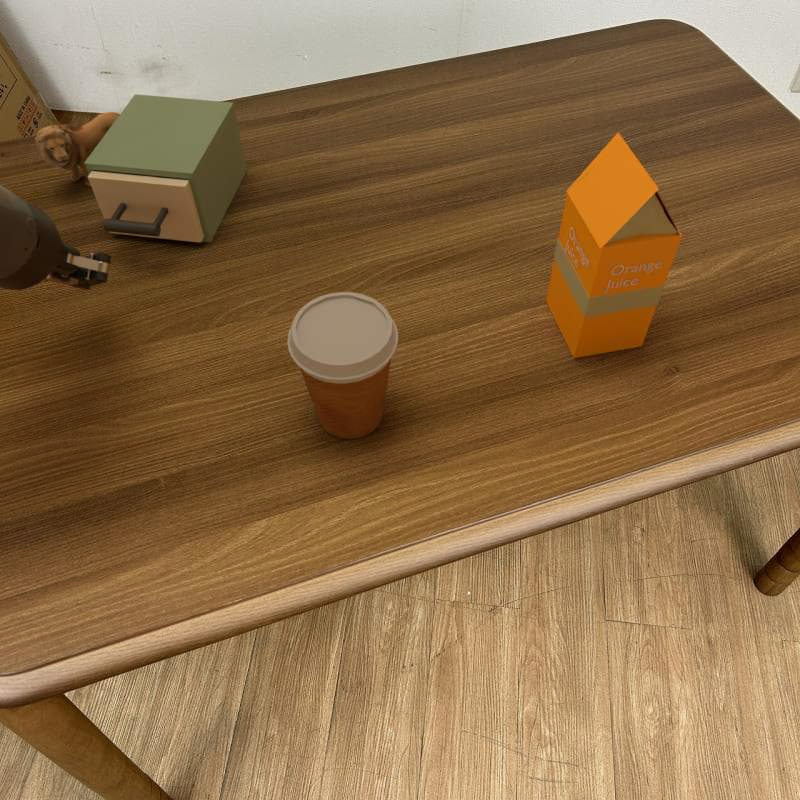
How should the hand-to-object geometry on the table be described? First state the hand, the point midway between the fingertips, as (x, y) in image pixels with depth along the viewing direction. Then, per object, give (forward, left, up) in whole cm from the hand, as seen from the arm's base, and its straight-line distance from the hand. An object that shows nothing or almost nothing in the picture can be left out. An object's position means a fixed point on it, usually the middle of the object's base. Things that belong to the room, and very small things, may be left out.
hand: (85, 278), depth 76 cm
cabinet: (+1, +21, -6) cm, 22 cm away
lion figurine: (-11, +25, -6) cm, 28 cm away
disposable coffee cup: (+29, -8, -6) cm, 31 cm away
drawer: (+1, +17, -5) cm, 18 cm away
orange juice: (+52, +8, -6) cm, 53 cm away
